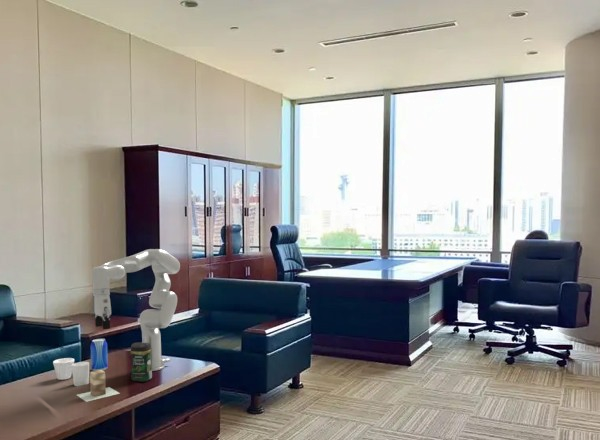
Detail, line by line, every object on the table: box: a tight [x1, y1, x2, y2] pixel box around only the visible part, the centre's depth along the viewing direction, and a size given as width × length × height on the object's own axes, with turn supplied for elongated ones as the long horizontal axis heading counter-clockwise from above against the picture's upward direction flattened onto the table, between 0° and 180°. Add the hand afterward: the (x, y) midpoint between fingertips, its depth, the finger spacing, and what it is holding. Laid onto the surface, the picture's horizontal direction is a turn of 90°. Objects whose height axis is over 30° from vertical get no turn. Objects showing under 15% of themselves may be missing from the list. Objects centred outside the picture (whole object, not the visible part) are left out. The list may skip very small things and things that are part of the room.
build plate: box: [76, 386, 121, 403], centre depth 235 cm, size 15×13×1 cm
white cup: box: [72, 361, 90, 387], centre depth 256 cm, size 8×8×10 cm
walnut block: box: [89, 382, 107, 397], centre depth 235 cm, size 5×5×5 cm
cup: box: [52, 357, 75, 381], centre depth 267 cm, size 10×10×9 cm
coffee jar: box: [130, 341, 153, 383], centre depth 259 cm, size 10×8×19 cm
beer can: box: [89, 338, 109, 372], centre depth 281 cm, size 8×8×16 cm
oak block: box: [89, 370, 106, 385], centre depth 235 cm, size 5×5×5 cm
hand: (102, 327), depth 251 cm, fingers open, 9 cm apart
